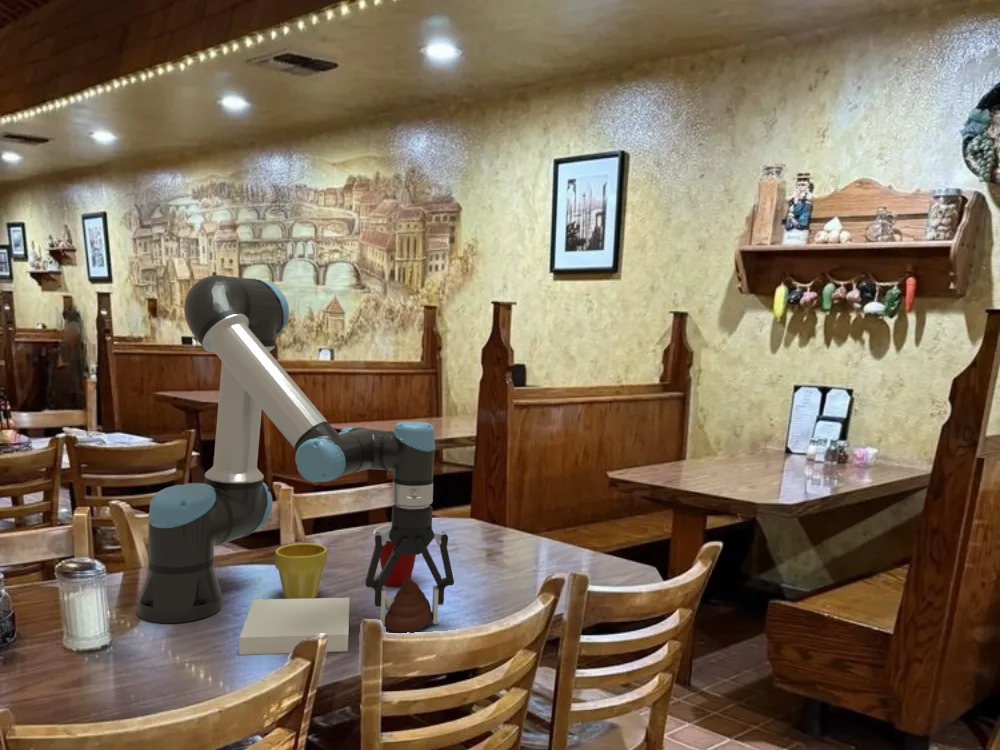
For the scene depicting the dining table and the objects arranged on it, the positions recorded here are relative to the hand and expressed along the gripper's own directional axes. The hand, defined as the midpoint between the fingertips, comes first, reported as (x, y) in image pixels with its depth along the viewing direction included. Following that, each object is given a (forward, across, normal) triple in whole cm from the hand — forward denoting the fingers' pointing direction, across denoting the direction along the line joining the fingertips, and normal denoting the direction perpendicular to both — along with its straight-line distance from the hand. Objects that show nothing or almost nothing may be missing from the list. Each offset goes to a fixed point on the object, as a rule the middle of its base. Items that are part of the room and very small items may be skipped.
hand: (408, 621), depth 146 cm
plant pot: (+1, -21, +17) cm, 27 cm away
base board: (+1, -20, -2) cm, 20 cm away
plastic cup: (+1, -1, +24) cm, 24 cm away
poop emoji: (+1, 0, 0) cm, 1 cm away
